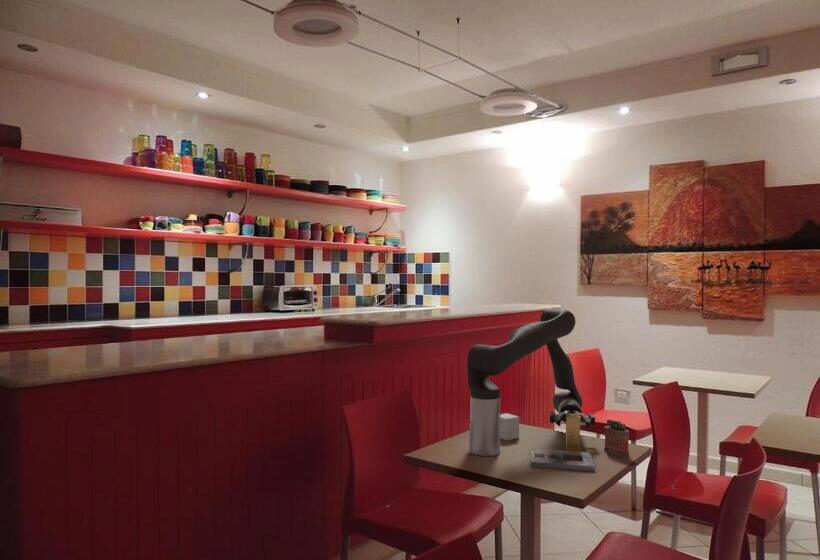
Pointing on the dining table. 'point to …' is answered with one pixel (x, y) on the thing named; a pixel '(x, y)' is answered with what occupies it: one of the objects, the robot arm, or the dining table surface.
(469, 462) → the dining table surface
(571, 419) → the yellow rectangular block
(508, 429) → the product box
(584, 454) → the grey slotted tray
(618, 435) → the lighter
